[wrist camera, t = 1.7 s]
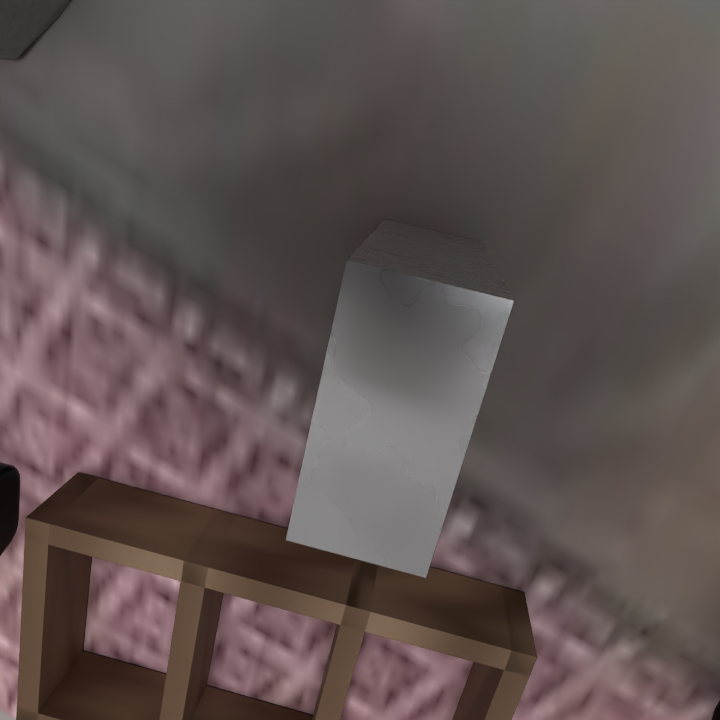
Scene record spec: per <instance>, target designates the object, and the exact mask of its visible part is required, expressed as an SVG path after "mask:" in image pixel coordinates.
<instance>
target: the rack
mask: <svg viewBox="0 0 720 720" xmlns="http://www.w3.org/2000/svg"><path fill="white" fill-rule="evenodd" d="M287 532H288V529H287V528H283V527H279V526H275V525H272V524H268V523H264V522H261V521H257V520H253V519H249V518H246V517H242V516H238V515H234V514H231V513H227V512H223V511H220V510H216V509H212V508H208V507H205V506H201V505H197V504H194V503H190V502H186V501H182V500H179V499H175V498H171V497H168V496H164V495H160V494H156V493H153V492H149V491H145V490H142V489H138V488H134V487H130V486H127V485H123V484H119V483H116V482H112V481H108V480H104V479H101V478H97V477H93V476H90V475H86V474H82V473H77V474H76V475H75V476H73V477H72V478H71V479H70V480H69V481H68V482H67V483H65V484H64V485H63V486H62V487H61V488H60V489H58V490H57V491H56V492H55V493H54V494H53V495H51V496H50V497H49V498H48V499H47V500H46V501H45V502H43V503H42V504H41V505H40V506H39V507H38V508H36V509H35V510H34V511H33V512H32V513H31V514H29V515H28V516H27V517H26V527H25V548H24V569H23V590H22V611H21V632H20V654H19V675H18V696H17V717H16V720H340V717H341V713H342V710H343V706H344V703H345V699H346V696H347V692H348V689H349V685H350V682H351V679H352V675H353V672H354V668H355V665H356V661H357V658H358V654H359V651H360V647H361V644H362V640H363V637H364V633H365V632H368V633H371V634H375V635H379V636H382V637H386V638H390V639H393V640H397V641H401V642H404V643H408V644H411V645H415V646H419V647H422V648H426V649H430V650H433V651H437V652H441V653H444V654H448V655H451V656H455V657H459V658H462V659H466V660H470V661H473V662H474V664H473V667H472V669H471V672H470V675H469V678H468V680H467V683H466V686H465V688H464V691H463V694H462V696H461V699H460V702H459V704H458V707H457V710H456V713H455V715H454V718H453V720H512V717H513V715H514V712H515V710H516V707H517V705H518V703H519V700H520V698H521V695H522V693H523V691H524V688H525V686H526V683H527V681H528V679H529V676H530V674H531V671H532V669H533V666H534V664H535V662H536V659H537V654H536V649H535V644H534V639H533V634H532V629H531V624H530V619H529V614H528V608H527V603H526V598H525V593H524V592H521V591H517V590H513V589H509V588H506V587H502V586H498V585H495V584H491V583H487V582H483V581H480V580H476V579H472V578H469V577H465V576H461V575H457V574H454V573H450V572H446V571H443V570H439V569H435V568H431V567H429V570H428V573H427V576H426V578H425V577H421V576H417V575H413V574H410V573H406V572H402V571H399V570H395V569H391V568H387V567H384V566H380V565H376V564H373V563H369V562H365V561H362V560H358V559H354V558H350V557H347V556H343V555H339V554H336V553H332V552H328V551H325V550H321V549H317V548H313V547H310V546H306V545H302V544H299V543H295V542H291V541H288V540H286V536H287ZM92 557H95V558H99V559H103V560H106V561H110V562H114V563H117V564H121V565H124V566H128V567H132V568H135V569H139V570H143V571H146V572H150V573H154V574H157V575H161V576H164V577H168V578H172V579H175V580H179V581H181V583H180V590H179V596H178V603H177V609H176V616H175V622H174V629H173V635H172V642H171V648H170V655H169V661H168V668H167V674H163V673H160V672H156V671H153V670H149V669H146V668H142V667H139V666H135V665H132V664H128V663H124V662H121V661H117V660H114V659H110V658H107V657H103V656H100V655H96V654H93V653H89V652H86V651H83V645H84V634H85V623H86V612H87V602H88V591H89V580H90V569H91V558H92ZM223 593H226V594H230V595H233V596H237V597H241V598H244V599H248V600H252V601H255V602H259V603H263V604H266V605H270V606H273V607H277V608H281V609H284V610H288V611H292V612H295V613H299V614H302V615H306V616H310V617H313V618H317V619H321V620H324V621H328V622H332V623H335V624H337V628H336V632H335V635H334V639H333V643H332V647H331V650H330V654H329V658H328V662H327V665H326V669H325V673H324V677H323V680H322V684H321V688H320V692H319V695H318V699H317V703H316V707H315V710H314V714H313V716H312V715H308V714H305V713H301V712H298V711H294V710H291V709H287V708H284V707H280V706H277V705H273V704H269V703H266V702H262V701H259V700H255V699H252V698H248V697H245V696H241V695H238V694H234V693H231V692H227V691H223V690H220V689H216V688H213V687H209V686H206V685H207V680H208V674H209V669H210V663H211V658H212V652H213V647H214V642H215V636H216V631H217V625H218V620H219V614H220V609H221V603H222V598H223Z"/></svg>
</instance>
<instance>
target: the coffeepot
mask: <svg viewBox="0 0 720 720" xmlns="http://www.w3.org/2000/svg"><path fill="white" fill-rule="evenodd" d="M69 2H70V0H0V59H11V60H16V59H17V58H18V57H19V56H20V55H21V54H22V53H23V52H24V51H25V50H26V49H27V48H28V47H29V46H30V45H31V44H32V43H33V42H34V41H35V40H36V39H37V38H38V37H39V36H40V35H41V34H42V33H43V32H44V31H45V30H46V29H47V28H48V27H49V26H50V25H51V24H52V23H53V22H55V21H56V20H57V19H58V18H59V17H60V15H61V14H62V12H63V11H64V9H65V8H66V6H67V5H68V3H69Z"/></svg>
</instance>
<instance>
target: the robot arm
mask: <svg viewBox="0 0 720 720" xmlns="http://www.w3.org/2000/svg"><path fill="white" fill-rule="evenodd" d="M19 497H20V474H19V471H18V470H17V469H16V468H15V467H14V466H12V465H8V464H4V463H1V462H0V556H1V554H2V553H3V552H4V550H5V549H6V548H7V546H8V545H9V544H10V542H11V541H12V539H13V537H14V535H15V533H16V530H17V526H18V521H19ZM712 720H720V701H719V702H718V704H717V706H716V708H715V710H714V712H713V716H712Z"/></svg>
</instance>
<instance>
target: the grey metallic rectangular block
mask: <svg viewBox="0 0 720 720" xmlns="http://www.w3.org/2000/svg"><path fill="white" fill-rule="evenodd" d="M513 302H514V300H513V298H512V296H511V295H510V293H509V291H508V289H507V287H506V285H505V283H504V281H503V280H502V278H501V276H500V274H499V272H498V270H497V268H496V267H495V265H494V263H493V261H492V259H491V257H490V255H489V254H488V252H487V250H486V248H485V246H484V244H483V243H482V242H478V241H474V240H470V239H465V238H461V237H457V236H453V235H449V234H445V233H441V232H437V231H433V230H429V229H424V228H420V227H416V226H412V225H408V224H404V223H400V222H396V221H392V220H388V219H384V220H383V221H382V222H381V224H380V225H379V226H378V227H377V228H376V229H375V230H374V231H373V232H372V233H371V234H370V235H369V236H368V237H367V238H366V240H365V241H364V242H363V243H362V244H361V245H360V246H359V247H358V248H357V249H356V250H355V251H354V252H353V253H352V255H351V256H350V257H349V258H348V259H347V261H346V266H345V270H344V275H343V279H342V284H341V289H340V293H339V298H338V302H337V307H336V312H335V316H334V321H333V325H332V330H331V334H330V339H329V344H328V348H327V353H326V357H325V362H324V367H323V371H322V376H321V380H320V385H319V390H318V394H317V399H316V403H315V408H314V412H313V417H312V422H311V426H310V431H309V435H308V440H307V445H306V449H305V454H304V458H303V463H302V468H301V472H300V477H299V481H298V486H297V490H296V495H295V500H294V504H293V509H292V513H291V518H290V523H289V527H288V532H287V536H286V540H288V541H291V542H295V543H299V544H302V545H306V546H310V547H313V548H317V549H321V550H325V551H328V552H332V553H336V554H339V555H343V556H347V557H350V558H354V559H358V560H362V561H365V562H369V563H373V564H376V565H380V566H384V567H387V568H391V569H395V570H399V571H402V572H406V573H410V574H413V575H417V576H421V577H425V578H426V576H427V573H428V570H429V567H430V564H431V560H432V557H433V554H434V551H435V548H436V545H437V541H438V538H439V535H440V532H441V529H442V526H443V523H444V519H445V516H446V513H447V510H448V507H449V504H450V501H451V497H452V494H453V491H454V488H455V485H456V482H457V479H458V475H459V472H460V469H461V466H462V463H463V460H464V456H465V453H466V450H467V447H468V444H469V441H470V438H471V434H472V431H473V428H474V425H475V422H476V419H477V416H478V412H479V409H480V406H481V403H482V400H483V397H484V394H485V390H486V387H487V384H488V381H489V378H490V375H491V371H492V368H493V365H494V362H495V359H496V356H497V353H498V349H499V346H500V343H501V340H502V337H503V334H504V331H505V327H506V324H507V321H508V318H509V315H510V312H511V309H512V305H513Z"/></svg>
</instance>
